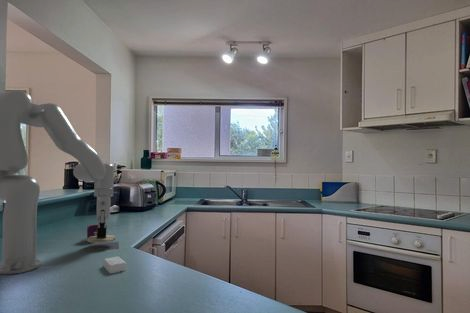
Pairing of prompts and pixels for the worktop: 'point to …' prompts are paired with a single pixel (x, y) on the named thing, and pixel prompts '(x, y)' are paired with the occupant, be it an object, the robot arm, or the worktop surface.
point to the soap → (114, 264)
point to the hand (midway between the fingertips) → (101, 235)
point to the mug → (91, 231)
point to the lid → (100, 240)
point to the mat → (103, 246)
